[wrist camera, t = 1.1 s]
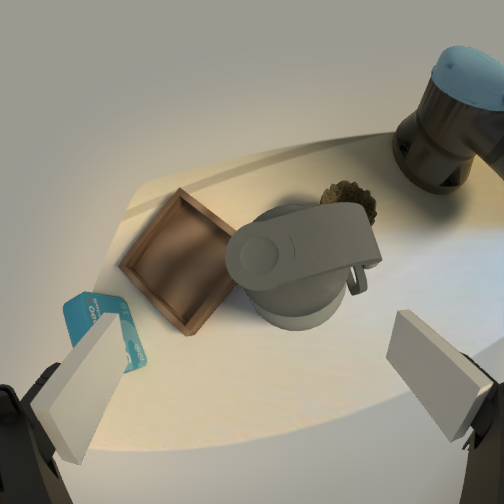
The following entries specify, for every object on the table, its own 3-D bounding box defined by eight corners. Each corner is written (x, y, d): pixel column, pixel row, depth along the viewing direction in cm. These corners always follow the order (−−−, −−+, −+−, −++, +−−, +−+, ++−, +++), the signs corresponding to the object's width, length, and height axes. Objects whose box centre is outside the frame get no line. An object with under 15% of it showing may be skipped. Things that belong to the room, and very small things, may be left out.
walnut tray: (261, 253, 44) (257, 247, 40) (194, 335, 43) (185, 336, 39) (187, 195, 48) (179, 187, 45) (129, 269, 47) (118, 266, 44)
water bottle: (324, 249, 42) (353, 141, 15) (342, 314, 40) (416, 308, 13) (257, 269, 43) (183, 190, 16) (274, 333, 41) (221, 365, 14)
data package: (149, 364, 43) (105, 375, 31) (129, 372, 43) (84, 382, 32) (125, 297, 46) (79, 289, 34) (107, 307, 46) (59, 301, 35)
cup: (307, 231, 43) (307, 212, 36) (334, 194, 44) (339, 170, 36) (348, 260, 41) (357, 247, 34) (373, 221, 42) (387, 202, 34)
